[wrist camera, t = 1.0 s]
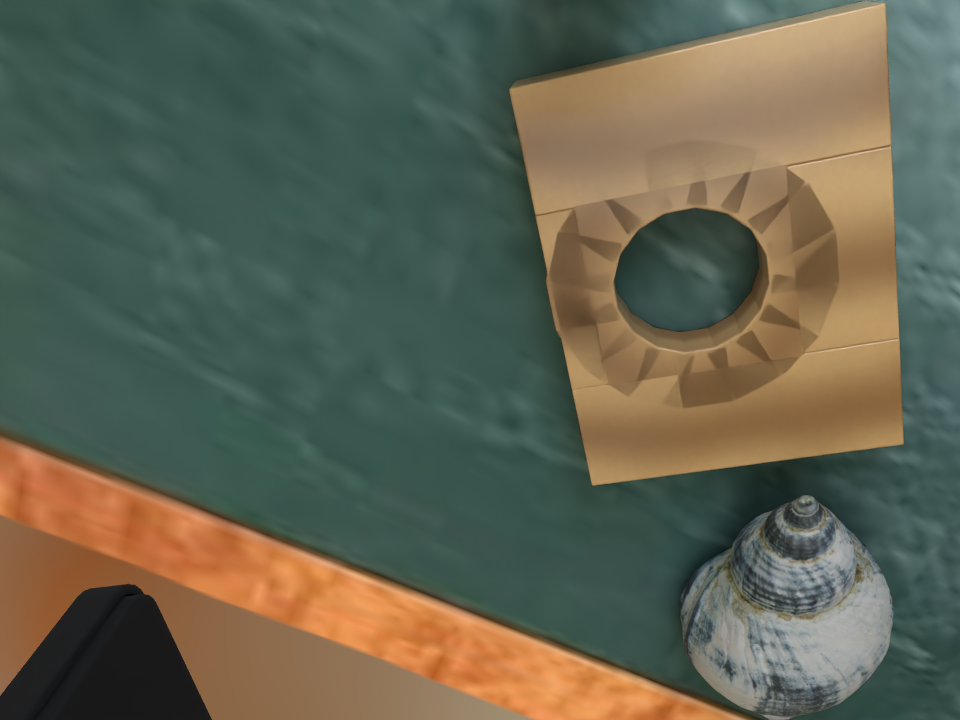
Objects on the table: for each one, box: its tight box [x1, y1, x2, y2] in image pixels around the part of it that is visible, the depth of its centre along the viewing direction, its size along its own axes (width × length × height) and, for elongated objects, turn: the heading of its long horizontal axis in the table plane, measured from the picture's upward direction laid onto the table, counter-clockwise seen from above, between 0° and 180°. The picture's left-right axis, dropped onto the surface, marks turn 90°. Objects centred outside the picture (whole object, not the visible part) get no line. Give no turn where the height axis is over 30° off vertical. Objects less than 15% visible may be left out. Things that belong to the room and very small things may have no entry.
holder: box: [509, 1, 904, 485], centre depth 32 cm, size 16×12×2 cm
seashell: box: [679, 495, 894, 720], centre depth 35 cm, size 6×8×12 cm
